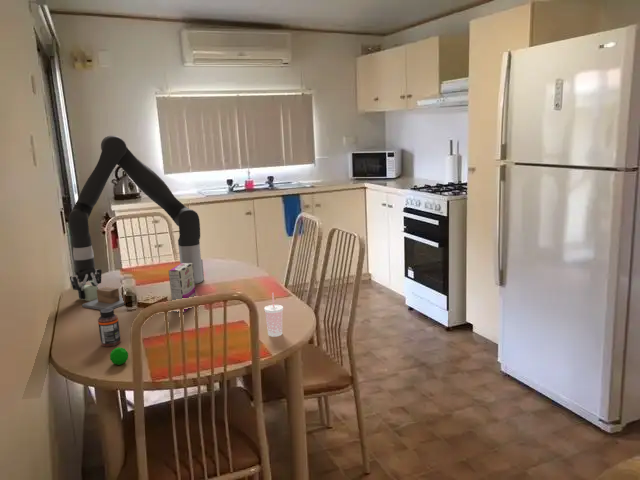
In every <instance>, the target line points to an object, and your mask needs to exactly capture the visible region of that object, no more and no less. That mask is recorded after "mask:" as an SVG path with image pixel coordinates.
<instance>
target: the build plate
mask: <svg viewBox="0 0 640 480" xmlns="http://www.w3.org/2000/svg"><path fill="white" fill-rule="evenodd" d="M122 296H123V295H119V298H120V300H119V301H117V302H114V303H112V304H109V303H102V302H98V299H95V300H92V301H87V302H85V303H82V305H81V306H82V308H87V309H94V310H97V311H98V310H99V311H101V310H103V309H107V308H112V309H116V308H119V307H121V306H124V301H123V298H122Z"/></svg>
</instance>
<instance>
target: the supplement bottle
mask: <svg viewBox="0 0 640 480" xmlns="http://www.w3.org/2000/svg"><path fill="white" fill-rule="evenodd" d="M114 309H115V308H114ZM114 309H112V308H107V309H103V310H99V315H100V316H99V317H98V318H97V325H98V331H99V338H100V339H99V340H100V344H101V346H103V347H114V346H117V345H119V344H120V343H121V342H122V339H121V331H120V324H119V317H118V315H117V314H115V310H114Z"/></svg>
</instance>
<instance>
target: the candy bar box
mask: <svg viewBox="0 0 640 480" xmlns="http://www.w3.org/2000/svg"><path fill="white" fill-rule="evenodd" d="M168 277H169V287H170V295H171V297H170V298H171V301H172V300H176V299H182V298H189V297H194V296H196V297H197V293H196V284H195V283H194V273H193V263H181V264H180V263H179V264H177V265H175V266H174V267H172V268H171V269H168ZM190 309H191V308H188V309H184V312H183V313H186V312H187V311H189V310H190ZM172 312H173V313H180V312H179V311H178V312H177V311H173V310H172Z"/></svg>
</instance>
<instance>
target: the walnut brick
mask: <svg viewBox="0 0 640 480" xmlns="http://www.w3.org/2000/svg"><path fill="white" fill-rule="evenodd" d="M119 296H120V291H119V288H118V287H110V286H104V287H101V288H98V290H97V297H98V302H102V303H109V304H112V303H114V302H117V301H119V300H120V298H119Z"/></svg>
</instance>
